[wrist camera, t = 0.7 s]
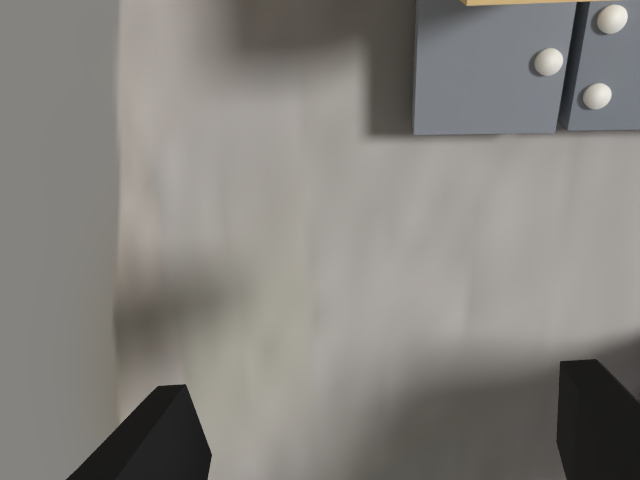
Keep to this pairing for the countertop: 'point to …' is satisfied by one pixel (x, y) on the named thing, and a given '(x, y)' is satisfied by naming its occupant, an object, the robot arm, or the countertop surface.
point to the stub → (490, 65)
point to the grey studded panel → (603, 68)
